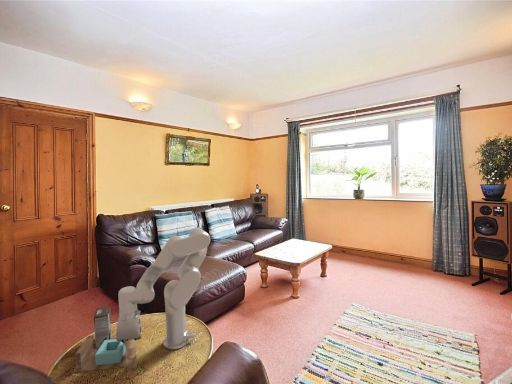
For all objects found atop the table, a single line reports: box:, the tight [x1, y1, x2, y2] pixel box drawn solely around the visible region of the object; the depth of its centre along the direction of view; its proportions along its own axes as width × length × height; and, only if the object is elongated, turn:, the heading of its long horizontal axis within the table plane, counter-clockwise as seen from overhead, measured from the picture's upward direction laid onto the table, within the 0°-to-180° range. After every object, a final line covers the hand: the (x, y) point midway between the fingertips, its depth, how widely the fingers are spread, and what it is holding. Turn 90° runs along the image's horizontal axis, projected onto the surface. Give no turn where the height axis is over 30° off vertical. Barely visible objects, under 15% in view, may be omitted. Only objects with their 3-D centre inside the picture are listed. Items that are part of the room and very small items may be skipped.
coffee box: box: [93, 305, 113, 349], centre depth 131 cm, size 9×6×16 cm
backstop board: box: [73, 335, 127, 374], centre depth 119 cm, size 21×14×8 cm, turn 99°
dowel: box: [125, 339, 138, 372], centre depth 113 cm, size 4×4×12 cm
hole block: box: [95, 338, 126, 365], centre depth 120 cm, size 10×10×5 cm
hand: (129, 351), depth 121 cm, fingers closed
